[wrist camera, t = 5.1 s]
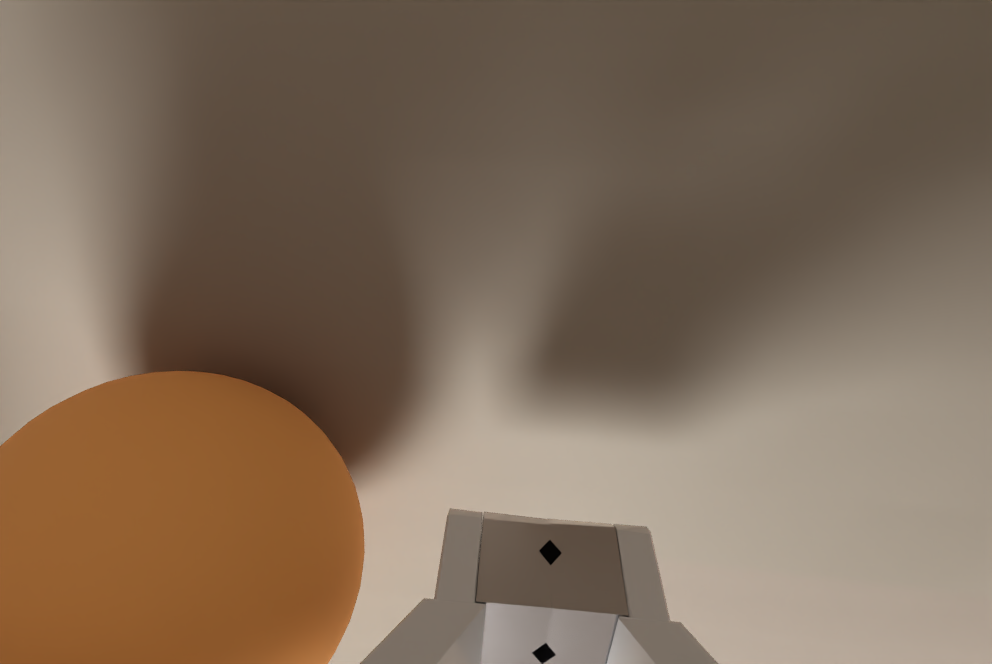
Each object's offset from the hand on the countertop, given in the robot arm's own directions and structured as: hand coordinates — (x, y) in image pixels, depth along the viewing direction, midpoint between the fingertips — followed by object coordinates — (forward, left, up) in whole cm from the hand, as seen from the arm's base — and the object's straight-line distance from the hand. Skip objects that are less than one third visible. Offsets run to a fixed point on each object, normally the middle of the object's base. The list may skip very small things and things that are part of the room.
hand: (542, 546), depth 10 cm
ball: (0, +5, +1) cm, 5 cm away
